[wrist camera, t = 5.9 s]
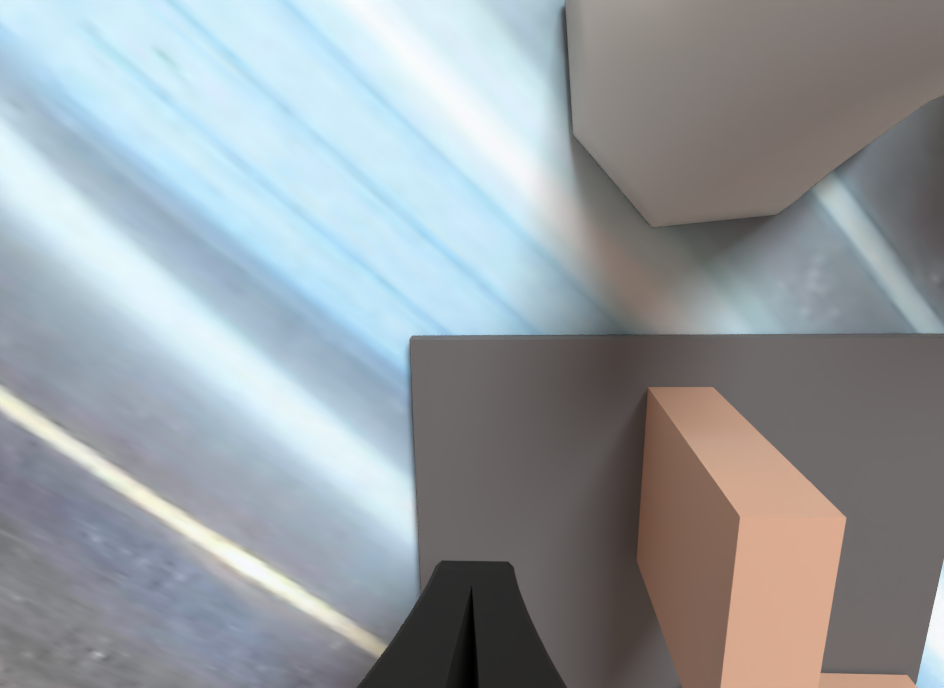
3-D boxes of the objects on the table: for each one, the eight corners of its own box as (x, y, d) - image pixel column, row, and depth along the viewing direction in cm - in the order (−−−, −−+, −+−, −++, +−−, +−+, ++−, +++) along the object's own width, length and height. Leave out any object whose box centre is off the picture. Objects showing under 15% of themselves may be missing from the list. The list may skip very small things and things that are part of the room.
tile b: (636, 560, 16) (710, 768, 11) (647, 387, 15) (739, 516, 9) (700, 561, 16) (810, 771, 11) (717, 386, 15) (853, 518, 9)
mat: (432, 810, 20) (431, 823, 19) (411, 335, 15) (409, 339, 15) (874, 824, 19) (881, 838, 19) (979, 333, 15) (992, 337, 14)
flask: (926, 147, 14) (1911, 80, 4) (627, 275, 15) (862, 458, 5) (838, -196, 12) (2128, -1603, 3) (509, -24, 13) (538, -555, 4)
